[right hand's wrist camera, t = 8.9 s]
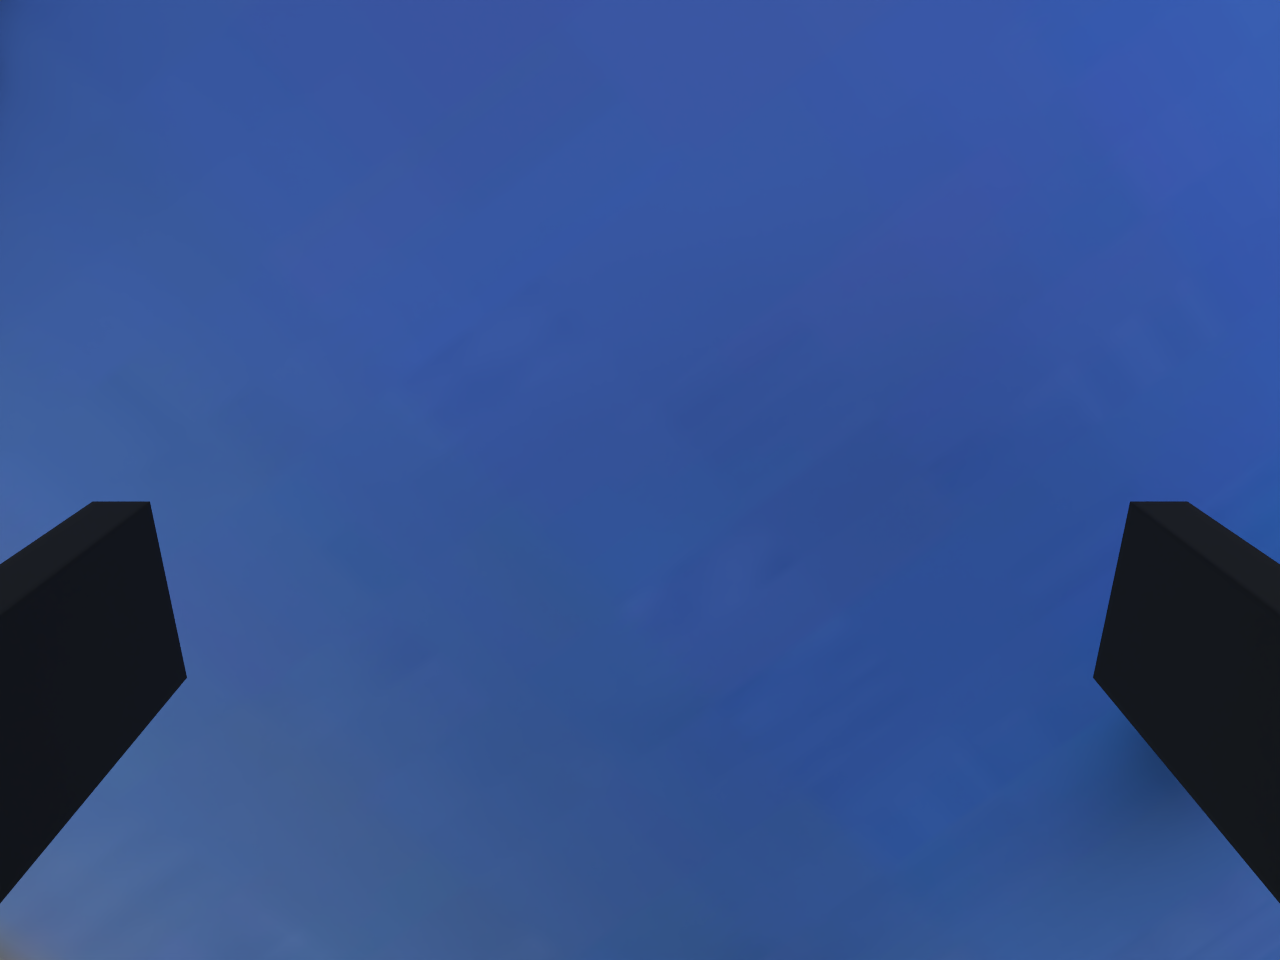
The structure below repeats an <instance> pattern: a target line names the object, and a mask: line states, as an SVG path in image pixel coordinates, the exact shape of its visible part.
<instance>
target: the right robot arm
mask: <svg viewBox="0 0 1280 960" xmlns="http://www.w3.org/2000/svg"><path fill="white" fill-rule="evenodd" d="M186 678H187V676H186V671H185V666H184V662H183V657H182V652H181V647H180V643H179V638H178V633H177V628H176V624H175V619H174V614H173V609H172V605H171V600H170V595H169V590H168V586H167V581H166V576H165V571H164V567H163V562H162V557H161V552H160V548H159V543H158V538H157V533H156V529H155V524H154V519H153V514H152V510H151V505H150V502H91V503H90V504H88V505H87V506H85V507H84V508H83V509H81V510H80V511H78V512H77V513H75V514H74V515H72V516H71V517H69V518H68V519H66V520H65V521H63V522H62V523H60V524H59V525H57V526H56V527H55V528H53V529H52V530H50V531H49V532H47V533H46V534H44V535H43V536H41V537H40V538H38V539H37V540H35V541H34V542H32V543H31V544H30V545H28V546H27V547H25V548H24V549H22V550H21V551H19V552H18V553H16V554H15V555H13V556H12V557H10V558H9V559H7V560H6V561H5V562H3V563H2V564H0V903H1V902H2V901H3V899H4V898H5V897H6V896H7V894H8V893H9V892H10V891H11V890H12V888H13V887H14V886H15V885H16V884H17V882H18V881H19V880H20V879H21V878H22V876H23V875H24V874H25V873H26V872H27V870H28V869H29V868H30V867H31V865H32V864H33V863H34V862H35V861H36V859H37V858H38V857H39V856H40V855H41V853H42V852H43V851H44V850H45V849H46V847H47V846H48V845H49V844H50V842H51V841H52V840H53V839H54V838H55V836H56V835H57V834H58V833H59V832H60V830H61V829H62V828H63V827H64V826H65V824H66V823H67V822H68V821H69V820H70V818H71V817H72V816H73V815H74V813H75V812H76V811H77V810H78V809H79V807H80V806H81V805H82V804H83V803H84V801H85V800H86V799H87V798H88V797H89V795H90V794H91V793H92V792H93V790H94V789H95V788H96V787H97V786H98V784H99V783H100V782H101V781H102V780H103V778H104V777H105V776H106V775H107V774H108V772H109V771H110V770H111V769H112V768H113V766H114V765H115V764H116V763H117V761H118V760H119V759H120V758H121V757H122V755H123V754H124V753H125V752H126V751H127V749H128V748H129V747H130V746H131V745H132V743H133V742H134V741H135V740H136V738H137V737H138V736H139V735H140V734H141V732H142V731H143V730H144V729H145V728H146V726H147V725H148V724H149V723H150V722H151V720H152V719H153V718H154V717H155V716H156V714H157V713H158V712H159V711H160V709H161V708H162V707H163V706H164V705H165V703H166V702H167V701H168V700H169V699H170V697H171V696H172V695H173V694H174V693H175V691H176V690H177V689H178V688H179V686H180V685H181V684H182V683H183V682H184V680H185V679H186ZM1093 678H1094V679H1095V680H1096V682H1097V683H1098V684H1099V685H1100V686H1101V688H1102V689H1103V690H1104V691H1105V693H1106V694H1107V695H1108V696H1109V697H1110V699H1111V700H1112V701H1113V702H1114V703H1115V705H1116V706H1117V707H1118V708H1119V709H1120V711H1121V712H1122V713H1123V714H1124V716H1125V717H1126V718H1127V719H1128V720H1129V722H1130V723H1131V724H1132V725H1133V726H1134V728H1135V729H1136V730H1137V731H1138V732H1139V734H1140V735H1141V736H1142V737H1143V738H1144V740H1145V741H1146V742H1147V743H1148V745H1149V746H1150V747H1151V748H1152V749H1153V751H1154V752H1155V753H1156V754H1157V755H1158V757H1159V758H1160V759H1161V760H1162V761H1163V763H1164V764H1165V765H1166V766H1167V768H1168V769H1169V770H1170V771H1171V772H1172V774H1173V775H1174V776H1175V777H1176V778H1177V780H1178V781H1179V782H1180V783H1181V784H1182V786H1183V787H1184V788H1185V789H1186V790H1187V792H1188V793H1189V794H1190V795H1191V797H1192V798H1193V799H1194V800H1195V801H1196V803H1197V804H1198V805H1199V806H1200V807H1201V809H1202V810H1203V811H1204V812H1205V813H1206V815H1207V816H1208V817H1209V818H1210V820H1211V821H1212V822H1213V823H1214V824H1215V826H1216V827H1217V828H1218V829H1219V830H1220V832H1221V833H1222V834H1223V835H1224V836H1225V838H1226V839H1227V840H1228V841H1229V842H1230V844H1231V845H1232V846H1233V847H1234V849H1235V850H1236V851H1237V852H1238V853H1239V855H1240V856H1241V857H1242V858H1243V859H1244V861H1245V862H1246V863H1247V864H1248V865H1249V867H1250V868H1251V869H1252V870H1253V872H1254V873H1255V874H1256V875H1257V876H1258V878H1259V879H1260V880H1261V881H1262V882H1263V884H1264V885H1265V886H1266V887H1267V888H1268V890H1269V891H1270V892H1271V893H1272V894H1273V896H1274V897H1275V898H1276V899H1277V901H1278V902H1279V903H1280V564H1278V563H1277V562H1275V561H1274V560H1273V559H1271V558H1270V557H1268V556H1267V555H1265V554H1264V553H1262V552H1261V551H1259V550H1258V549H1256V548H1255V547H1253V546H1252V545H1250V544H1249V543H1248V542H1246V541H1245V540H1243V539H1242V538H1240V537H1239V536H1237V535H1236V534H1234V533H1233V532H1231V531H1230V530H1228V529H1227V528H1225V527H1224V526H1223V525H1221V524H1220V523H1218V522H1217V521H1215V520H1214V519H1212V518H1211V517H1209V516H1208V515H1206V514H1205V513H1203V512H1202V511H1200V510H1199V509H1197V508H1196V507H1195V506H1193V505H1192V504H1190V503H1189V502H1130V505H1129V510H1128V514H1127V519H1126V524H1125V529H1124V533H1123V538H1122V543H1121V548H1120V552H1119V557H1118V562H1117V567H1116V571H1115V576H1114V581H1113V586H1112V590H1111V595H1110V600H1109V605H1108V609H1107V614H1106V619H1105V624H1104V628H1103V633H1102V638H1101V643H1100V647H1099V652H1098V657H1097V662H1096V666H1095V671H1094V676H1093Z"/></svg>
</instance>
